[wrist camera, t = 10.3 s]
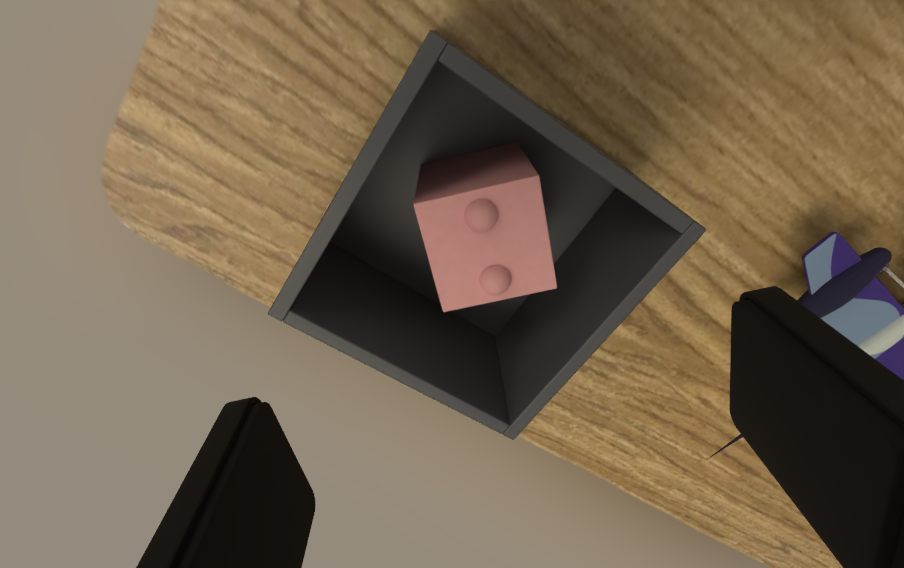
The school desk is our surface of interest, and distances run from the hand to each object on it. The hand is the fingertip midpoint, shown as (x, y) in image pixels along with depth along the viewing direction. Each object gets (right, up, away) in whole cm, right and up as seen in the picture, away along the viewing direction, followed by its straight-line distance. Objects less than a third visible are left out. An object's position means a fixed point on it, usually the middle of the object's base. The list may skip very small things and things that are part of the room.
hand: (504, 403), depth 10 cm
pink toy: (0, +6, +14) cm, 15 cm away
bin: (0, +6, +15) cm, 16 cm away
